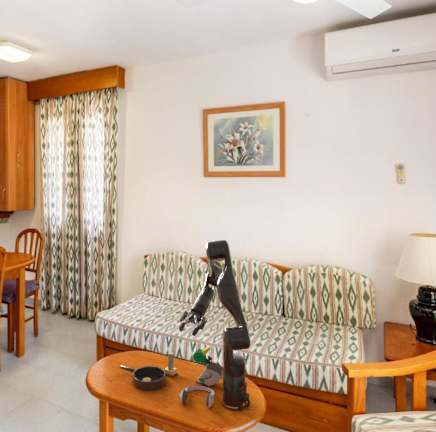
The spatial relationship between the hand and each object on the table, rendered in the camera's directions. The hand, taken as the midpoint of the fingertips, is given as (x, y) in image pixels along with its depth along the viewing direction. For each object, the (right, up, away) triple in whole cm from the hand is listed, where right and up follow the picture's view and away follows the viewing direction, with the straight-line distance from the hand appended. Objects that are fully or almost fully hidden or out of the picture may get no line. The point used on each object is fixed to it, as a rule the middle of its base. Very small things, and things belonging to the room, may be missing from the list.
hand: (186, 332), depth 196 cm
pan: (-18, -19, -15) cm, 30 cm away
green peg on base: (-8, -18, -7) cm, 21 cm away
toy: (+11, -19, -16) cm, 27 cm away
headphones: (+3, -21, -29) cm, 36 cm away
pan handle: (-28, -16, -8) cm, 34 cm away
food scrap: (-19, -18, -14) cm, 30 cm away
